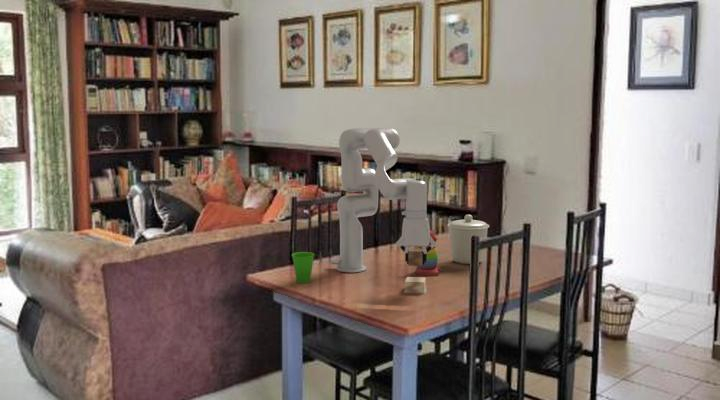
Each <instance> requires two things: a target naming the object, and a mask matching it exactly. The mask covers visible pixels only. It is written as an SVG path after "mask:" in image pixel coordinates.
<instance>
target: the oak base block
mask: <svg viewBox="0 0 720 400" xmlns="http://www.w3.org/2000/svg"><path fill="white" fill-rule="evenodd" d="M426 279H427V278H426V277H425V276H424V277H421V276H420V277H419V276H407V277H406V278H405V281H404V290H405V292H411V293H410V294H423V293H424V292H425V288H427V287H426V284H427V283H426V282H427V280H426Z"/></svg>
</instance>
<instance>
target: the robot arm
mask: <svg viewBox="0 0 720 400" xmlns="http://www.w3.org/2000/svg"><path fill="white" fill-rule="evenodd" d="M339 136H340V137H339V141H338V143H339V144H338V146H339V151H340V157H341V167H340V168H341V169H340V170H341V171H340V172H341V175H340V176H341V177H340V178H341V188H342V189H343V191H345V192H348V193H350V192H351V193H352V192H354V193H355V192H363V193H357V194H346V195H344V196H341V197H340V198H339V199H338V201H337V204H336V206H337V213H338V219H339V258H337V259H335V258H330V259H329V263H330V264H331V265H337V266H336V270H337V271H338V272H341V273H342V272H343V273H361V272H364V271H366V270H367V266H366V265H365V264H364V257H363V256H364V255H363V254H364V253H363V252H364V251H363V248H364V246H363V244H364V242H363V240H364V239H363V238H364V237H363V235H364V234H363V232H364V230H363V225H362V223H361V221H360V220H359V219H358V218H361V217H363V218H364V217H369V216H370V217H371V216H373V215H376V214H377V212H378V208H379V192H380V194H381V195H382V196H383V197H384V198H385V199H387V200H389V201H393V200H401V199H402V200H404V199H405V210H403V211H401V215H402V216H404V218H403V220H402V227H401V236H400V237H399V239H398V240H397V241H396V242H395V245H396V246H397V247H398V248H399V249H400V250H402V251H403V252H404V254H405V256H404V257H405V258H404V260H405V262H406V265H408V252H409V250H410V248H411V247H418V246H421V247H422V248H423V258H422V264H423V265H424V264H425V262H427V253H428V252H429V251H430V250H431V249H432V248H433V247H435V246H436V247H437V243H436V242H435V241H434V240H433V239H432V238H431V236H430V231H431V228H430V227H431V226H430V222H429V218H428V217H427V211H428V210H427V200H428V199H427V198H428V197H427V196H428V195H427V194H428V193H427V192H428V191H427V183H426V182H425V181H424V180H419V179H417V180H416V179H415V178H412V177H408V178H407V177H405V178H395V179H394V178H393V179H391V178H390V177H389V175H388V174H387V172H386V171H388V170H390V169H391V168H392V167H394V166H395V164H396V163H397V161H398V154H397V153H396V151H395V150H396V149H397V148H398V147H399V146H400V141H401V139H400V135H399V133H398V132H397V131H396V130H395V129H394V128H392V127H391V128H390V127H388V128H385V127H364V128H363V127H361V128H360V127H359V128H357V127H356V128H348V129H345V130H343V131H342V133H341V134H340V135H339ZM359 150H367V151H368V152H369V154H370V155H371V157H372V159H373V161H374V162H375V164H376V168H375V169H374V168H371V167H363V158H362V155H361V153H360V152H359ZM429 243H431V245H430V246H428V245H429ZM426 246H428V247H426Z"/></svg>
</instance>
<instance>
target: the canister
mask: <svg viewBox="0 0 720 400" xmlns="http://www.w3.org/2000/svg"><path fill="white" fill-rule="evenodd" d="M463 218H464V219H457V220H452V221H451V222H449V223H448V224H447V227H448V231H449V242H450V253H451V258H452V259H453V261H454V262H456V263H458V264H462V265H471V264H470V249H471V237H472V236H473V235H476V236H479V237H483V238H486V239H487V237H488V229H489V228H490V224H488V223H487V222H485V221H483V220H479V219H478V220H477V219H473V215H471V214H465V216H464V217H463ZM485 251H486V250H481V251H480V253H479V263H481V262H482V261H483V260H484V257H485ZM479 263H478V264H479Z"/></svg>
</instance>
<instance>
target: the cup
mask: <svg viewBox="0 0 720 400" xmlns="http://www.w3.org/2000/svg"><path fill="white" fill-rule="evenodd" d="M315 255H316V254H315V253H314V252H308V251H299V252H298V251H297V252H293V253H292V254H291V256H292V262H293V268H294V273H295V278H296V279H295V280H296V283H297V284H308V283H310V282H311V278H312V270H313V265H314V264H313V263H314V257H315Z"/></svg>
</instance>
